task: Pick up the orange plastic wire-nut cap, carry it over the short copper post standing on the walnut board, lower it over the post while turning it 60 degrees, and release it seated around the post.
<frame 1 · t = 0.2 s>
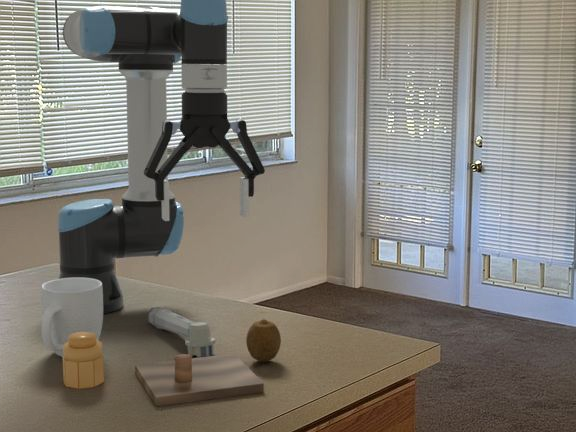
hand: (205, 217, 151), 28 cm above the kitchen counter, fingers open, 13 cm apart
mug: (71, 355, 165), on the kitchen counter
toothbrush head: (180, 342, 173), on the kitchen counter
post board: (197, 382, 151), on the kitchen counter
wire nut: (83, 381, 151), on the kitchen counter
fruit: (263, 362, 161), on the kitchen counter
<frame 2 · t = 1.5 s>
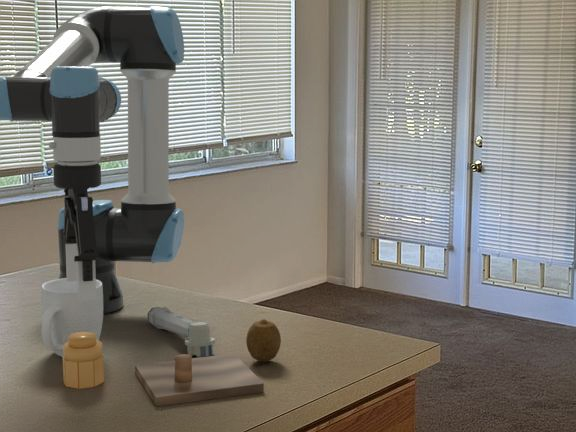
hand: (80, 290, 148), 16 cm above the kitchen counter, fingers open, 13 cm apart
nothing on the kitchen counter moved.
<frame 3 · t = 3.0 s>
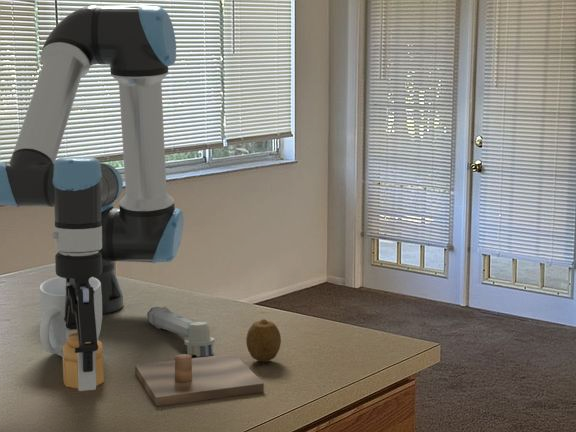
hand: (81, 377, 149), 1 cm above the kitchen counter, fingers open, 12 cm apart
mug: (71, 354, 164), on the kitchen counter, touching hand
everything else where it was.
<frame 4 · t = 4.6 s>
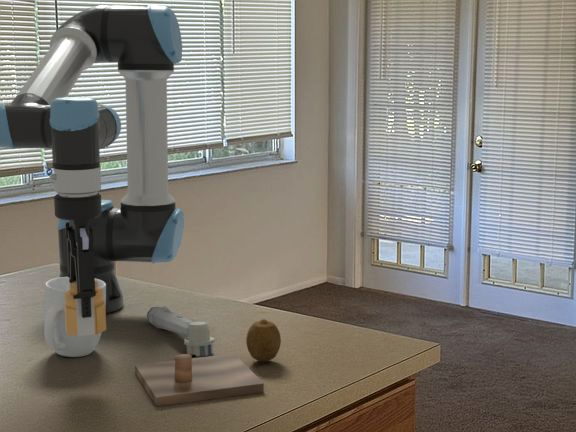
hand: (82, 327, 150), 9 cm above the kitchen counter, fingers closed on wire nut, 6 cm apart
mug: (70, 354, 164), on the kitchen counter
wire nut: (86, 329, 150), point 9 cm above the kitchen counter, touching gripper
everything else where it was.
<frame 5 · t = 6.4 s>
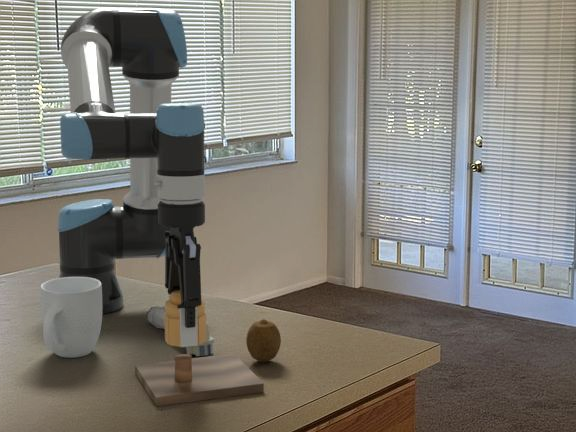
hand: (183, 339, 146), 9 cm above the kitchen counter, fingers closed on wire nut, 6 cm apart
wire nut: (185, 340, 146), point 8 cm above the kitchen counter, touching gripper
when the fingers open (2 cm above the kitchen counter, at t = 8.7 s): wire nut stays where it is, resting on post board.
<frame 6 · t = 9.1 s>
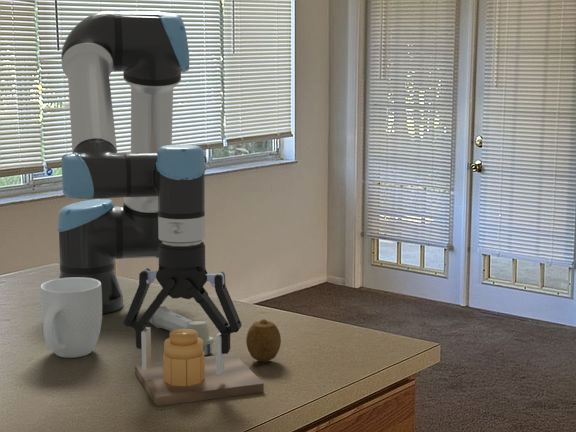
hand: (183, 369, 147), 3 cm above the kitchen counter, fingers open, 12 cm apart
wire nut: (184, 379, 148), point 1 cm above the kitchen counter, touching post board
everything else where it was.
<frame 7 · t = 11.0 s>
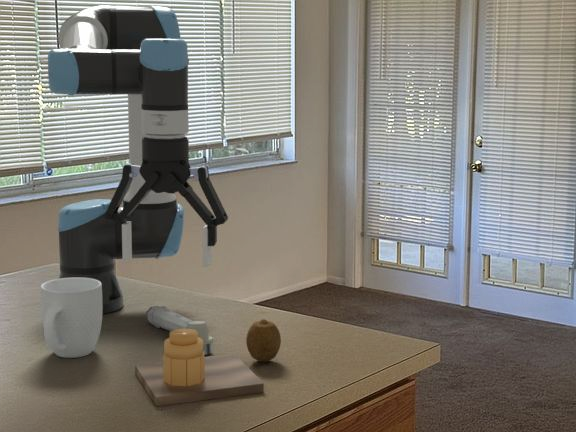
hand: (166, 263, 148), 20 cm above the kitchen counter, fingers open, 13 cm apart
nothing on the kitchen counter moved.
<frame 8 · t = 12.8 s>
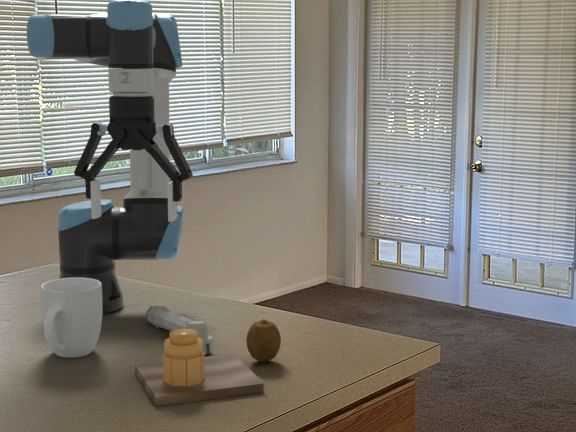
hand: (134, 219, 153), 27 cm above the kitchen counter, fingers open, 13 cm apart
at the end: wire nut 0.4 cm from the target spot on the post board, point 1.5 cm above the post board's base; wire nut tilted 0°; the gripper is holding nothing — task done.
